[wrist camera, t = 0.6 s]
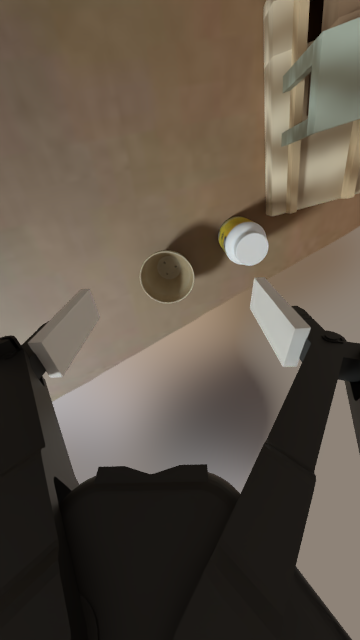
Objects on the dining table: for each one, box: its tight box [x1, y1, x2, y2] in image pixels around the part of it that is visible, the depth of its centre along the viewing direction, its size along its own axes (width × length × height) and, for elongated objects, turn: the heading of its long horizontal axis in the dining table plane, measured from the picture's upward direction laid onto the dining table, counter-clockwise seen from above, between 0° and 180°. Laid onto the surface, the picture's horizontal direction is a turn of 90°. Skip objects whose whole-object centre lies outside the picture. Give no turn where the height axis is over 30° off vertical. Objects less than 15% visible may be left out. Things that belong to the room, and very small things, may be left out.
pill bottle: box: [218, 216, 268, 266], centre depth 33 cm, size 6×6×12 cm
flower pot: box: [140, 250, 195, 303], centre depth 39 cm, size 10×10×7 cm
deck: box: [263, 0, 360, 216], centre depth 24 cm, size 23×14×12 cm, turn 14°
